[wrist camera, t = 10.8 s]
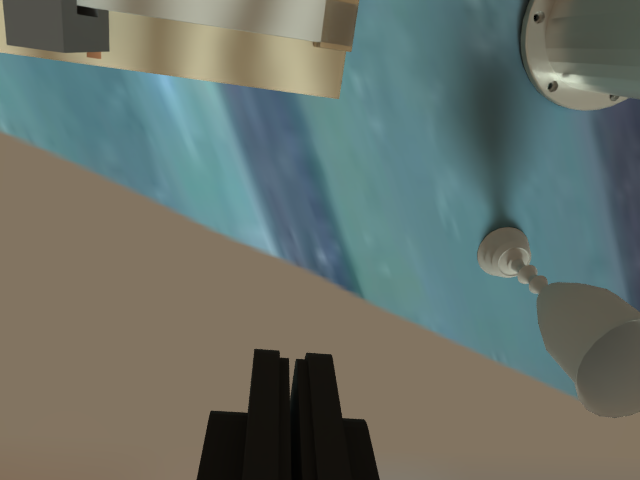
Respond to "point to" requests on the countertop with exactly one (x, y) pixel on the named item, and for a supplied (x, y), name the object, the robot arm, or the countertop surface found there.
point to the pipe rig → (224, 41)
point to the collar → (56, 26)
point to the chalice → (577, 327)
